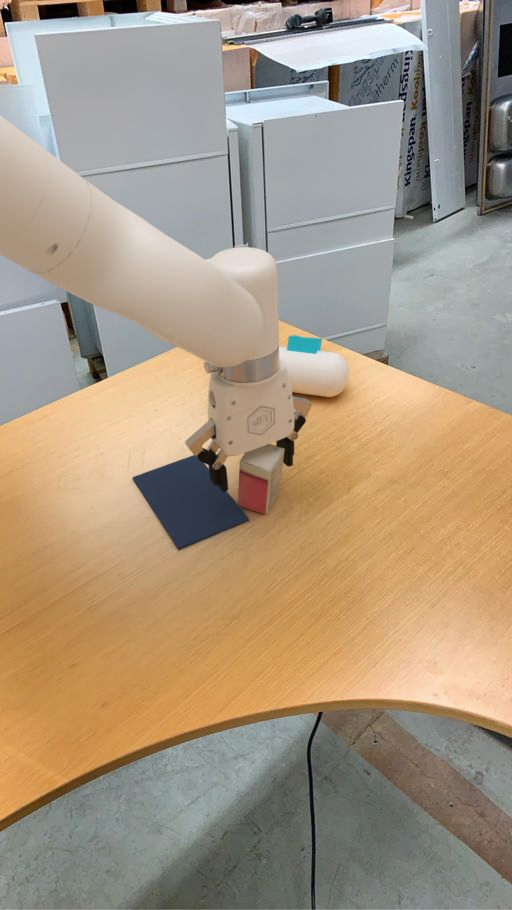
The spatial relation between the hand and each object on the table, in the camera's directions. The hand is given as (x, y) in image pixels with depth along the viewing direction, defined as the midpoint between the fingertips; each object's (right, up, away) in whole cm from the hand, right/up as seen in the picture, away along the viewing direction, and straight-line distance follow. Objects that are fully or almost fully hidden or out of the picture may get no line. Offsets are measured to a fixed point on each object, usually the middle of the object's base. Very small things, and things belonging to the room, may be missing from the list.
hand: (253, 473), depth 86 cm
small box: (+1, -4, +2) cm, 4 cm away
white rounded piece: (+10, +14, +24) cm, 29 cm away
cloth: (-9, -4, +2) cm, 10 cm away
